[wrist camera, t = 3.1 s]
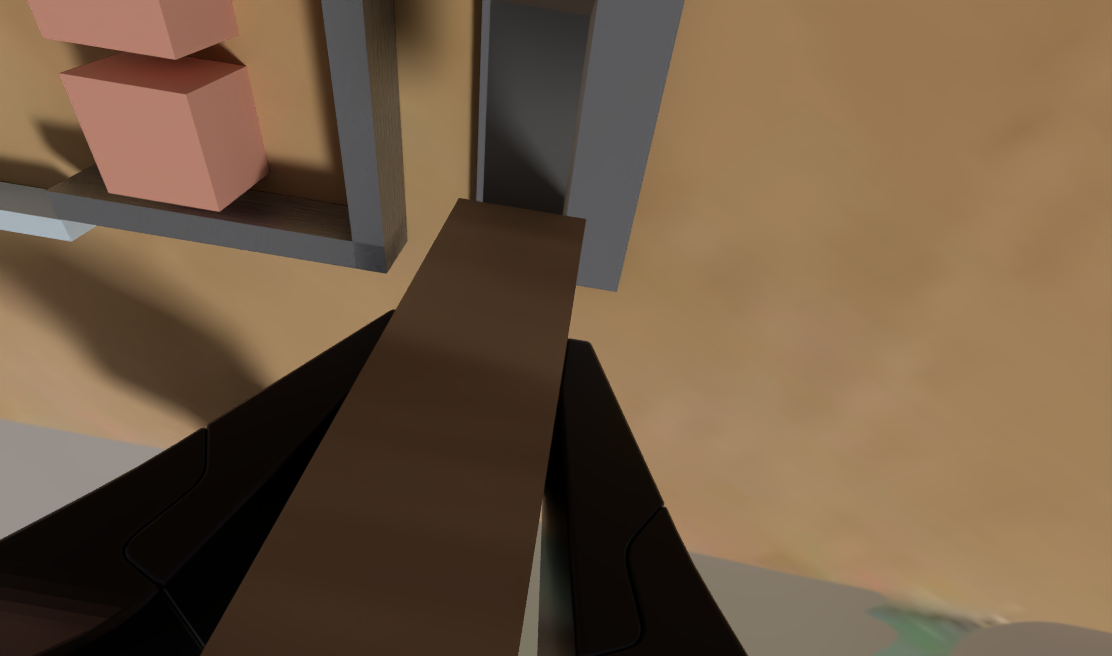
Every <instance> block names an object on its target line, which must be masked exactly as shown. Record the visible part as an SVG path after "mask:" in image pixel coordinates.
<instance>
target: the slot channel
mask: <svg viewBox="0 0 1112 656" xmlns="http://www.w3.org/2000/svg"><path fill="white" fill-rule="evenodd" d="M321 3H322V11H323V19H324V26H325V34H326V42H327V49H328V57H329V65H330V72H331V80H332V88H333V95H334V103H335V111H336V118H337V126H338V134H339V141H340V149H341V157H342V164H343V172H344V180H345V187H346V195H347V202H348V206H345V205H339V204H333V203H327V202H321V201H314V200H308V199H302V198H296V197H290V196H284V195H278V194H272V193H266V192H260V191H254V190H247V191H246V192H244V193H243V194H242V195H240V196H239V197H238V198H237V199H235V200H234V201H233V202H231V203H230V204H229V205H228V206H226V207H225V208H224V209H223V210H221V211H220V212H218V211H212V210H206V209H200V208H194V207H189V206H183V205H177V204H171V203H165V202H159V201H153V200H147V199H141V198H136V197H130V196H124V195H118V194H112V193H108V190H107V188H106V185H105V183H104V181H103V178H102V176H101V173H100V171H99V169H98V166H97V165H96V164H94V165H92V166H90V167H89V168H87V169H85V170H83V171H81V172H79V173H77V174H75V175H73V176H71V177H69V178H68V179H66V180H64V181H62V182H60V183H58V184H56V185H54V186H52V187H50V188H48V189H47V190H45V193H46V195H47V197H48V199H49V201H50V203H51V205H52V207H53V209H54V211H55V213H56V215H57V217H58V219H61V220H67V221H73V222H79V223H85V224H91V225H97V226H103V227H109V228H115V229H121V230H127V231H133V232H139V233H145V234H151V235H157V236H163V237H169V238H175V239H182V240H188V241H194V242H200V243H206V244H212V245H218V246H224V247H230V248H236V249H242V250H248V251H254V252H260V253H266V254H272V255H278V256H284V257H290V258H296V259H302V260H308V261H314V262H320V263H326V264H332V265H338V266H344V267H350V268H356V269H362V270H368V271H374V272H380V273H386V274H387V272H388V271H389V269H390V268H391V266H392V264H393V263H394V261H395V260H396V258H397V257H398V255H399V253H400V252H401V250H402V249H403V247H404V246H405V244H406V243H407V224H406V207H405V190H404V173H403V156H402V139H401V121H400V104H399V87H398V70H397V53H396V36H395V19H394V1H393V0H321Z"/></svg>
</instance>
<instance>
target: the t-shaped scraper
mask: <svg viewBox="0 0 1112 656" xmlns="http://www.w3.org/2000/svg"><path fill="white" fill-rule="evenodd" d="M597 5H598V0H491V1H490V27H489V53H488V79H487V105H486V131H485V157H484V183H483V202H480V201H474V200H468V199H462V198H459V199H458V201H457V202H456V204H455V206H454V208H453V209H452V211H451V213H450V215H449V217H448V218H447V220H446V222H445V224H444V225H443V227H442V229H441V231H440V232H439V234H438V236H437V238H436V240H435V241H434V243H433V245H432V247H431V248H430V250H429V252H428V254H427V255H426V257H425V259H424V261H423V263H422V264H421V266H420V268H419V270H418V271H417V273H416V275H415V277H414V278H413V280H412V282H411V284H410V286H409V287H408V289H407V291H406V293H405V294H404V296H403V298H402V300H401V301H400V303H399V305H398V307H397V309H396V310H395V312H394V314H393V316H392V317H391V319H390V321H389V323H388V324H387V326H386V328H385V330H384V331H383V333H382V335H381V337H380V339H379V340H378V342H377V344H376V346H375V347H374V349H373V351H372V353H371V354H370V356H369V358H368V360H367V362H366V363H365V365H364V367H363V369H362V370H361V372H360V374H359V376H358V377H357V379H356V381H355V383H354V385H353V386H352V388H351V390H350V392H349V393H348V395H347V397H346V399H345V400H344V402H343V404H342V406H341V408H340V409H339V411H338V413H337V415H336V416H335V418H334V420H333V422H332V423H331V425H330V427H329V429H328V431H327V432H326V434H325V436H324V438H323V439H322V441H321V443H320V445H319V446H318V448H317V450H316V452H315V453H314V455H313V457H312V459H311V461H310V462H309V464H308V466H307V468H306V469H305V471H304V473H303V475H302V476H301V478H300V480H299V482H298V484H297V485H296V487H295V489H294V491H293V492H292V494H291V496H290V498H289V499H288V501H287V503H286V505H285V507H284V508H283V510H282V512H281V514H280V515H279V517H278V519H277V521H276V522H275V524H274V526H273V528H272V530H271V531H270V533H269V535H268V537H267V538H266V540H265V542H264V544H263V545H262V547H261V549H260V551H259V552H258V554H257V556H256V558H255V560H254V561H253V563H252V565H251V567H250V568H249V570H248V572H247V574H246V575H245V577H244V579H243V581H242V583H241V584H240V586H239V588H238V590H237V591H236V593H235V595H234V597H233V598H232V600H231V602H230V604H229V606H228V607H227V609H226V611H225V613H224V614H223V616H222V618H221V620H220V621H219V623H218V625H217V627H216V629H215V630H214V632H213V634H212V636H211V637H210V639H209V641H208V643H207V644H206V646H205V648H204V650H203V652H202V653H201V655H200V656H518V652H519V646H520V638H521V633H522V626H523V620H524V614H525V607H526V600H527V594H528V588H529V582H530V575H531V569H532V562H533V556H534V549H535V543H536V537H537V531H538V524H539V518H540V511H541V505H542V499H543V492H544V486H545V479H546V473H547V467H548V460H549V454H550V447H551V441H552V435H553V428H554V422H555V415H556V409H557V403H558V396H559V390H560V384H561V377H562V371H563V364H564V358H565V352H566V345H567V339H568V332H569V326H570V320H571V313H572V307H573V300H574V294H575V288H576V281H577V275H578V269H579V262H580V256H581V249H582V243H583V237H584V230H585V224H586V219H584V218H577V217H571V216H567V210H568V203H569V196H570V189H571V182H572V176H573V169H574V162H575V155H576V148H577V141H578V135H579V128H580V121H581V114H582V107H583V100H584V94H585V87H586V80H587V73H588V66H589V59H590V52H591V46H592V39H593V32H594V25H595V18H596V11H597Z"/></svg>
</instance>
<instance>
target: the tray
mask: <svg viewBox="0 0 1112 656" xmlns="http://www.w3.org/2000/svg"><path fill="white" fill-rule="evenodd" d="M45 190H47V189H41V188H35V187H29V186H23V185H17V184H11V183H5V182H0V230H5V231H11V232H17V233H23V234H29V235H35V236H41V237H47V238H53V239H59V240H65V241H71V242H72V241H73V240H75V239H77V238H78V237H80V236H81V235H83V234H84V233H86V232H88V231H89V230H91V229H92V228H94V227H95V226H97V225H91V224H85V223H79V222H73V221H67V220H61V219H58V217H57V215H56V213H55V211H54V209H53V207H52V205H51V203H50V201H49V199H48V197H47V195H46V193H45Z"/></svg>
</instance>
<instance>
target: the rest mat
mask: <svg viewBox="0 0 1112 656" xmlns="http://www.w3.org/2000/svg"><path fill="white" fill-rule="evenodd" d="M490 1H491V0H482V29H481V62H480V94H479V127H478V160H477V193H476V201H480V202H483V183H484V157H485V131H486V105H487V79H488V53H489V27H490ZM683 5H684V0H598V5H597V11H596V18H595V25H594V32H593V39H592V46H591V52H590V59H589V66H588V73H587V80H586V87H585V94H584V100H583V107H582V114H581V121H580V128H579V135H578V141H577V148H576V155H575V162H574V169H573V176H572V182H571V189H570V196H569V203H568V210H567V216H571V217H577V218H584V219H586V224H585V230H584V237H583V243H582V249H581V256H580V262H579V269H578V275H577V281H576V285H578V286H584V287H590V288H596V289H602V290H608V291H614V292H617V288H618V284H619V280H620V276H621V271H622V267H623V263H624V258H625V254H626V250H627V245H628V241H629V237H630V233H631V228H632V224H633V220H634V215H635V211H636V207H637V202H638V198H639V194H640V190H641V185H642V181H643V177H644V172H645V168H646V164H647V159H648V155H649V151H650V147H651V142H652V138H653V134H654V129H655V125H656V121H657V116H658V112H659V108H660V103H661V99H662V95H663V91H664V86H665V82H666V78H667V73H668V69H669V65H670V60H671V56H672V52H673V48H674V43H675V39H676V35H677V30H678V26H679V22H680V17H681V13H682V9H683Z"/></svg>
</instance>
